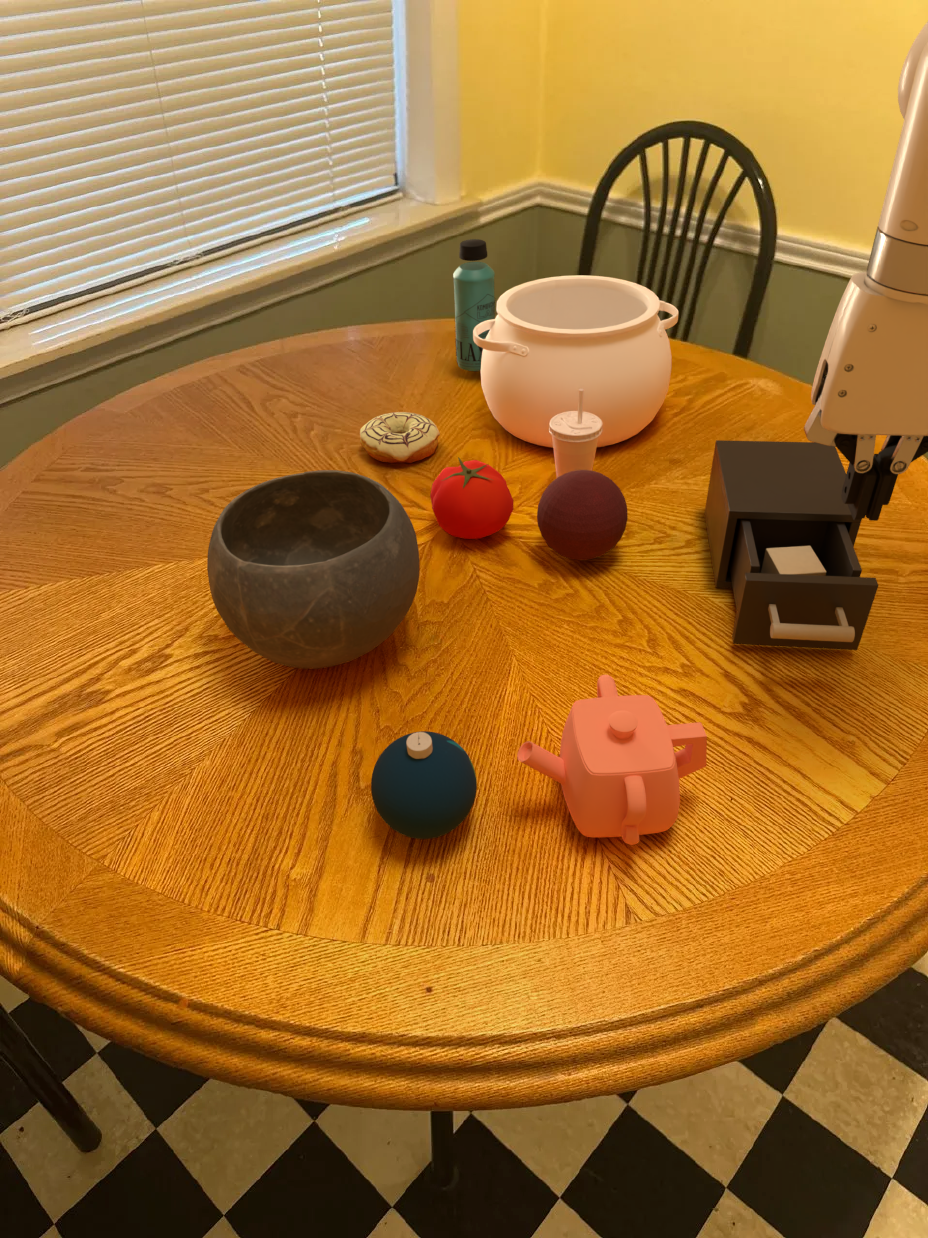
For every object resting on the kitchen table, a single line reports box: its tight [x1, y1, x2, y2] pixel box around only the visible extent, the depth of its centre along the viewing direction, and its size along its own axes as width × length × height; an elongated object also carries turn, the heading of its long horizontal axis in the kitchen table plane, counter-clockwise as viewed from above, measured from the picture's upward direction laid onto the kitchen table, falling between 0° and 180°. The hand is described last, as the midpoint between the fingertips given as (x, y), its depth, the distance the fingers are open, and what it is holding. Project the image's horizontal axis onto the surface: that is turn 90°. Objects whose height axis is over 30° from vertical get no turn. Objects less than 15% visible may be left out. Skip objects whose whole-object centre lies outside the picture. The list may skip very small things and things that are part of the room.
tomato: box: [429, 456, 515, 540], centre depth 101 cm, size 9×10×8 cm
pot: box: [473, 274, 679, 449], centre depth 120 cm, size 29×26×16 cm
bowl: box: [206, 469, 420, 670], centre depth 85 cm, size 20×20×15 cm
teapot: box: [516, 674, 708, 846], centre depth 68 cm, size 12×12×10 cm
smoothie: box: [549, 389, 602, 478], centre depth 104 cm, size 6×6×14 cm
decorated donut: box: [359, 411, 441, 464], centre depth 118 cm, size 10×11×4 cm
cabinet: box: [704, 439, 862, 590], centre depth 94 cm, size 15×13×10 cm
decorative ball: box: [536, 470, 629, 561], centre depth 96 cm, size 10×10×10 cm
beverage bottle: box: [452, 238, 497, 372], centre depth 132 cm, size 6×7×20 cm
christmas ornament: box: [370, 730, 478, 840], centre depth 68 cm, size 8×8×10 cm
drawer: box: [729, 518, 879, 651], centre depth 85 cm, size 18×12×8 cm, turn 173°
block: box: [761, 546, 826, 576], centre depth 86 cm, size 4×4×4 cm
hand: (861, 510), depth 65 cm, fingers closed
